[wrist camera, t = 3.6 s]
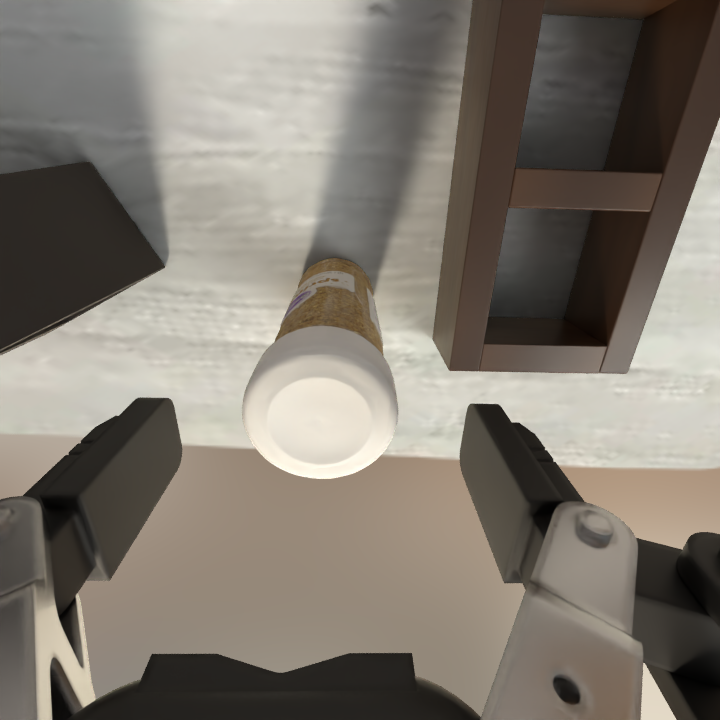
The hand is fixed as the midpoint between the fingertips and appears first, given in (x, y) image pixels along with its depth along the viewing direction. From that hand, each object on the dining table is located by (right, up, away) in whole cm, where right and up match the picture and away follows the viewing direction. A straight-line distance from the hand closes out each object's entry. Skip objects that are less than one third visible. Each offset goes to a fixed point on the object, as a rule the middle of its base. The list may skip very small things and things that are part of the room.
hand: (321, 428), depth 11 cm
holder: (+11, +11, +10) cm, 19 cm away
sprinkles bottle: (0, +6, +13) cm, 14 cm away
